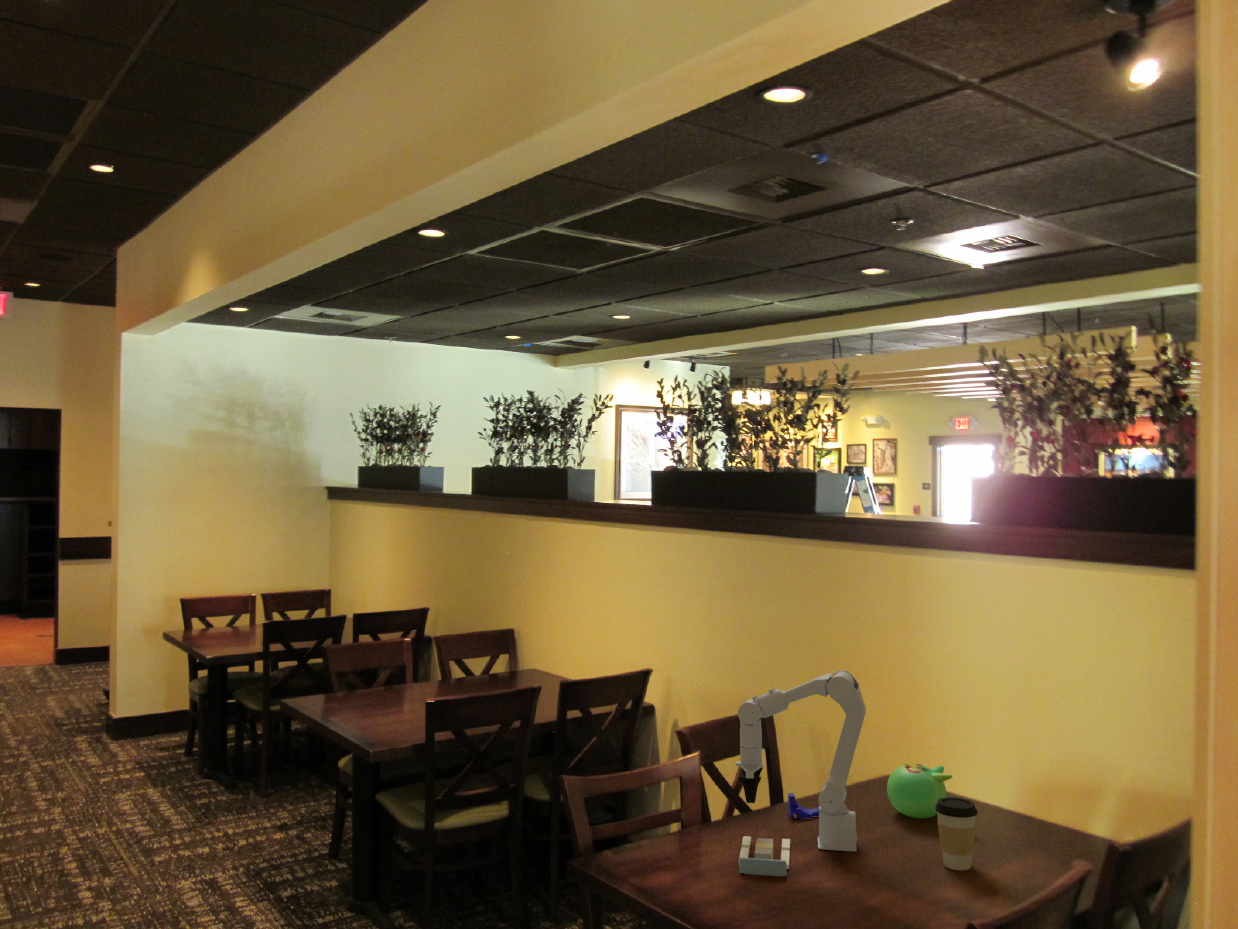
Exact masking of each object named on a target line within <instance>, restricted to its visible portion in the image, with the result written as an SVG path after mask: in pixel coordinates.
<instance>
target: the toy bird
mask: <svg viewBox="0 0 1238 929" xmlns="http://www.w3.org/2000/svg"><path fill="white" fill-rule="evenodd" d="M903 763H904V764H903V765H900V766H899V767H896V768H895V769H894V770H893V771H892V772H891V774H890V775H889V777H888V780H887V786H886V792H887V797H888V800H889V802H890V804H891V805H892V806H893V807H894V809H896V810H897V811H898V812H900V813H901V814H903V815H904V816H906V817H910V818H914V819H928V818H932V817H934V816H936V815H937V811H936V810H935V806H936V804H937V802H938V800H939V799H941V798H945V797H947V789H946V785H945V782H946V781H948V780H950V779H952V778H953V774H950V773H944V771H945V767H944V765H938V766H936V767H934V768H930V767H927V766H925V765H923V764H920V763H912V762H909V761H906V760H904V761H903Z"/></svg>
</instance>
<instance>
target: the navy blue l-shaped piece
mask: <svg viewBox="0 0 1238 929" xmlns="http://www.w3.org/2000/svg"><path fill="white" fill-rule="evenodd" d="M787 796H788V797H787V799H788V803H787V806H788V810H787V811H788V813H787V814H788V816H789V815H790V816H789V818H790V819H791V818H794V816H793V814H796V815H797V818H812V819H813V817H812V816H819V806H820V805H818V806H817V807H815V808H805V807H803V806H801V805H800V804H799V803H798V802H797V800H796V795H795V793H794V792H788V793H787Z"/></svg>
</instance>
